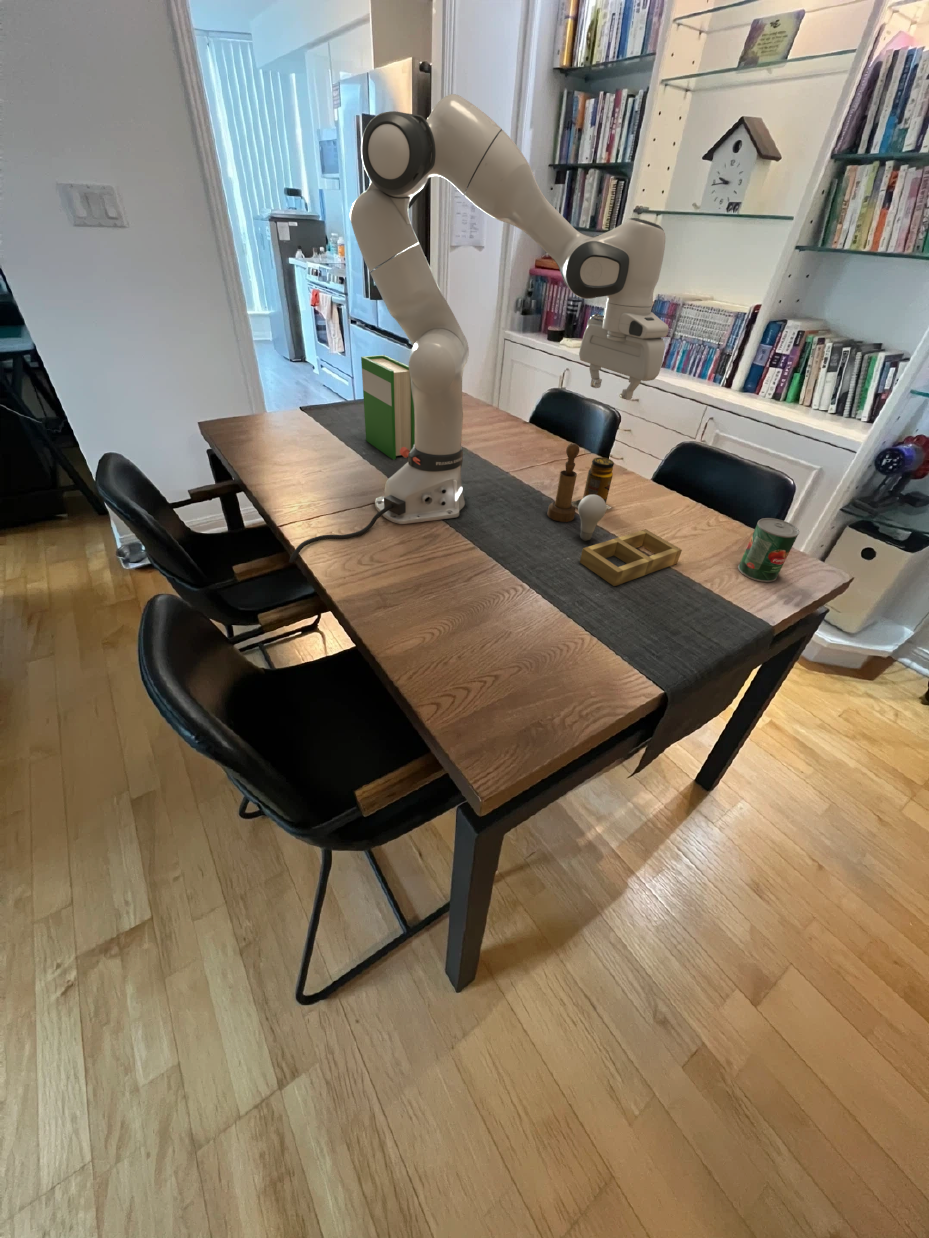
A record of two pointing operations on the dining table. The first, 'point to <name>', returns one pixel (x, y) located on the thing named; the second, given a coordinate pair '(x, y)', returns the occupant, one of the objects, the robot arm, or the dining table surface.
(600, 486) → the condiment
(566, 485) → the mortar and pestle
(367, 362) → the hardback book
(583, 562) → the rack
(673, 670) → the dining table surface
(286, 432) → the dining table surface
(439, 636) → the dining table surface
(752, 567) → the canned tomato
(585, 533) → the lightbulb
